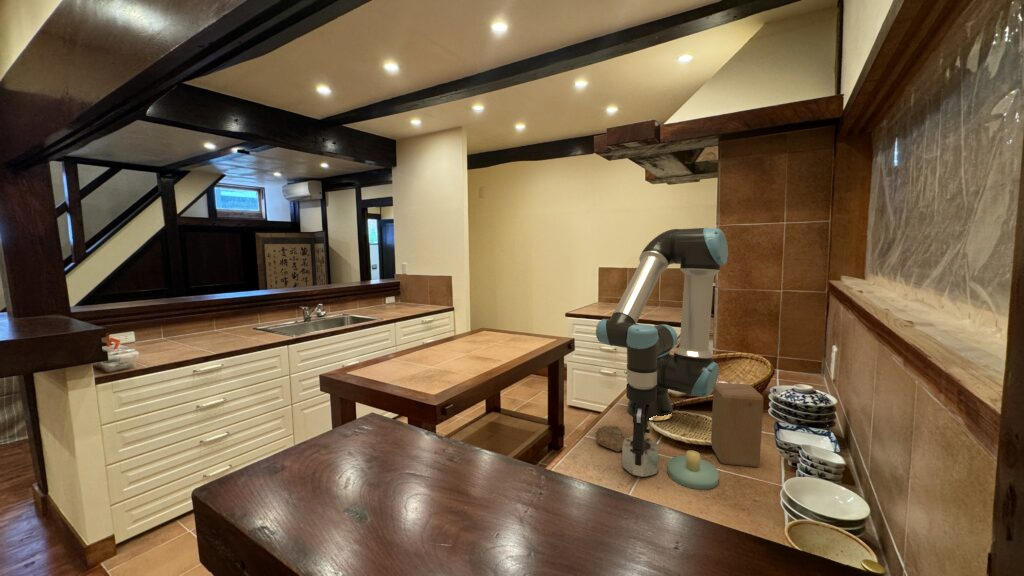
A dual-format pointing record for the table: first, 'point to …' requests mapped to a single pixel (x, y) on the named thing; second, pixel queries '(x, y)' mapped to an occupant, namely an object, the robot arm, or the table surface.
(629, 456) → the collar ring
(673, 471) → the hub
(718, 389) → the wooden block
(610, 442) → the rock
